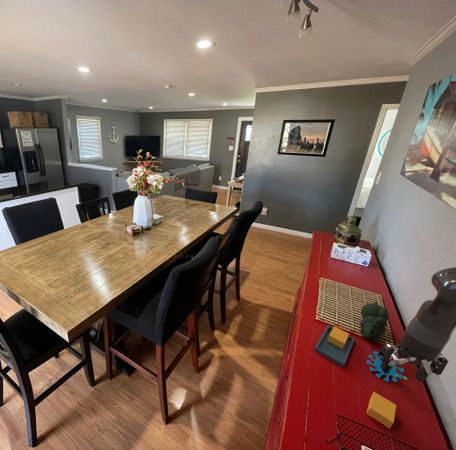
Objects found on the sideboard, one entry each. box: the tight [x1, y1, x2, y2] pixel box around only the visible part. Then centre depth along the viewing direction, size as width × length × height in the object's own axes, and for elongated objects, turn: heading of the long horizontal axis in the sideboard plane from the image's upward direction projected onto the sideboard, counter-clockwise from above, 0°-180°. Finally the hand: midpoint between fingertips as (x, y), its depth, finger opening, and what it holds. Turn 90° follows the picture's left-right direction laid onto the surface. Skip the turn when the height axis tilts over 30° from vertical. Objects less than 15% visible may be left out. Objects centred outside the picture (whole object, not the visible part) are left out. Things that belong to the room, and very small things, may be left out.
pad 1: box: [327, 326, 350, 349], centre depth 103 cm, size 6×8×3 cm
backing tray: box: [313, 324, 356, 368], centre depth 101 cm, size 10×19×2 cm, turn 132°
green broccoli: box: [359, 301, 389, 344], centre depth 106 cm, size 9×19×25 cm
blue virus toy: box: [366, 351, 408, 383], centre depth 90 cm, size 11×6×10 cm
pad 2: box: [366, 391, 397, 430], centre depth 77 cm, size 6×8×3 cm
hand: (400, 375), depth 72 cm, fingers open, 8 cm apart
